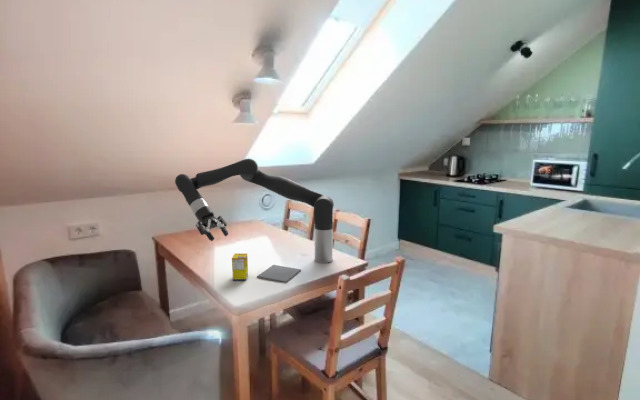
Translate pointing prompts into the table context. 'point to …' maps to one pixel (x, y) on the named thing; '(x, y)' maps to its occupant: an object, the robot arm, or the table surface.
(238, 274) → the supplement box
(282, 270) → the charcoal mat
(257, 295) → the table surface
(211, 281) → the table surface
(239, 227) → the table surface
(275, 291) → the table surface
